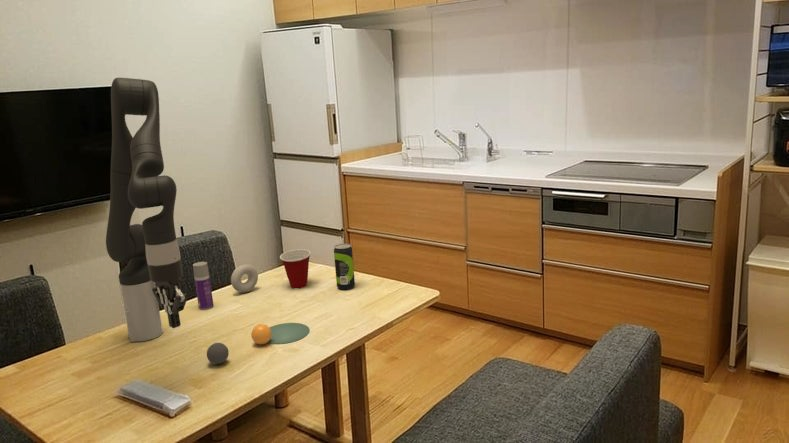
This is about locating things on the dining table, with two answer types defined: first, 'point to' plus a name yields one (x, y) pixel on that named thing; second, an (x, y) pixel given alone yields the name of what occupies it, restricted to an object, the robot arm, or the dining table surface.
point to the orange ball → (261, 334)
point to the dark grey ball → (217, 353)
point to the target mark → (288, 333)
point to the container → (203, 285)
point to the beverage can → (344, 266)
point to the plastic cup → (296, 266)
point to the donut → (239, 273)
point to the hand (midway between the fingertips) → (175, 326)
